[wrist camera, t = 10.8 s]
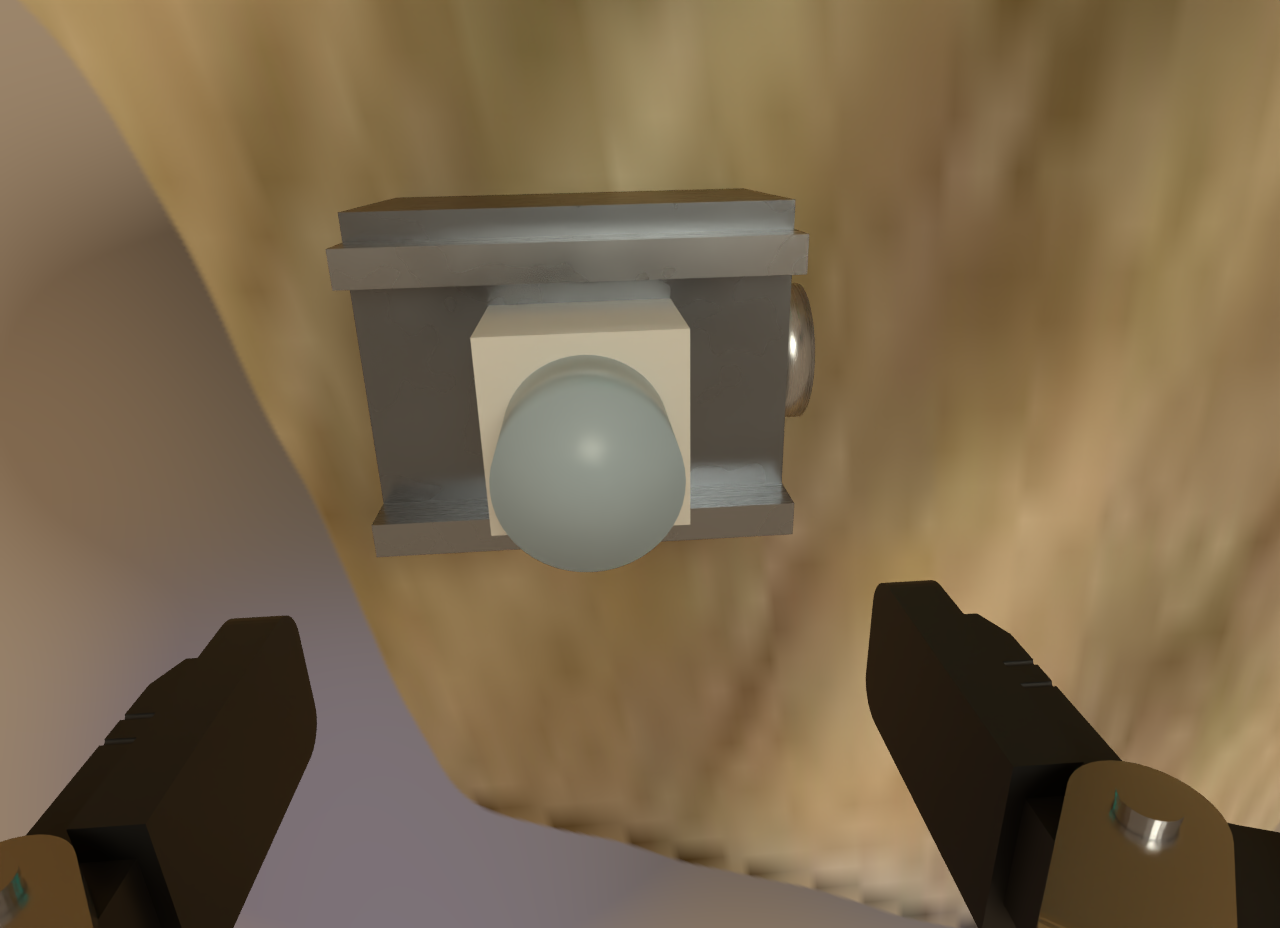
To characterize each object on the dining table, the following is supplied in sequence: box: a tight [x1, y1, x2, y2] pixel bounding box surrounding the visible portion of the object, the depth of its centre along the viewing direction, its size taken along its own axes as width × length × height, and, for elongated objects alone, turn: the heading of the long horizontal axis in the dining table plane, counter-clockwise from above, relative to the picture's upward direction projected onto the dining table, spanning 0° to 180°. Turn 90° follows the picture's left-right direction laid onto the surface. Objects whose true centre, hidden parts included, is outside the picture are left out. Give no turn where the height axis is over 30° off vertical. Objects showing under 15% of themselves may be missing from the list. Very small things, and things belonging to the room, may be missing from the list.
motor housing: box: [326, 188, 815, 557], centre depth 25 cm, size 13×10×8 cm
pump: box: [470, 299, 690, 572], centre depth 19 cm, size 5×5×7 cm
